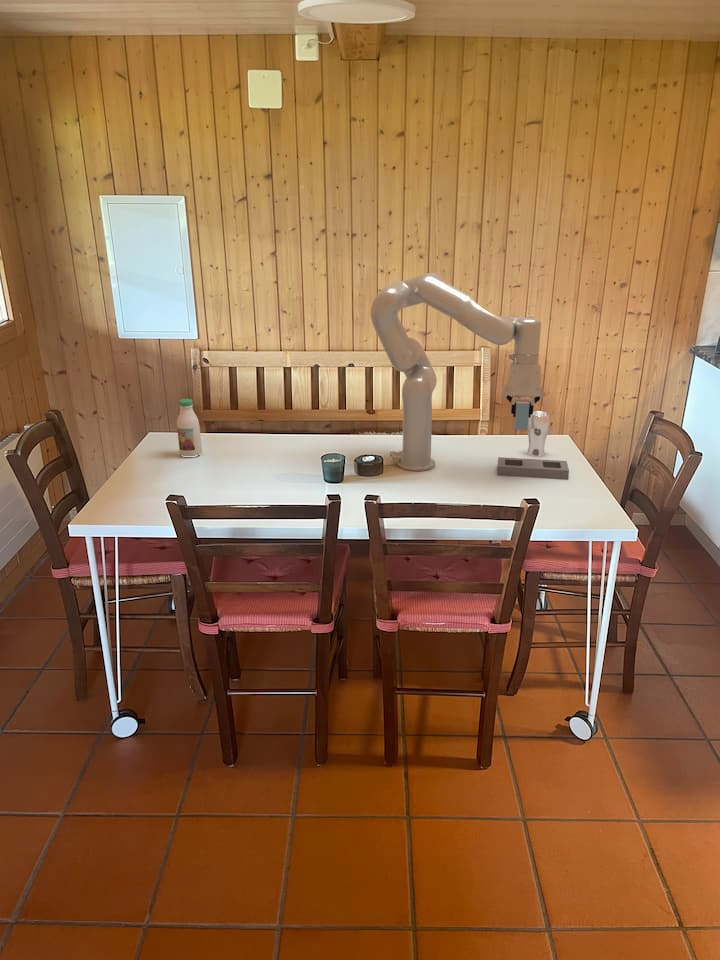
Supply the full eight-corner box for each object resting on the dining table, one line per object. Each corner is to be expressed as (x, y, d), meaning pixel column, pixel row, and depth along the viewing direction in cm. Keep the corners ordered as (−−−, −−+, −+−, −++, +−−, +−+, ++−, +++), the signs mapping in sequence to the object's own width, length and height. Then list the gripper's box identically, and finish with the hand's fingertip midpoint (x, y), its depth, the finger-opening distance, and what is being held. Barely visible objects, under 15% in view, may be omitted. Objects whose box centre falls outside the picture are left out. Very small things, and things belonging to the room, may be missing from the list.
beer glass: (548, 453, 244) (552, 412, 239) (542, 459, 239) (546, 417, 233) (529, 450, 248) (533, 409, 242) (522, 455, 242) (526, 414, 237)
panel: (497, 476, 224) (498, 466, 223) (497, 467, 233) (498, 457, 231) (567, 480, 220) (568, 470, 219) (565, 470, 229) (566, 460, 227)
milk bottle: (192, 449, 252) (186, 396, 244) (206, 453, 248) (201, 399, 240) (175, 455, 246) (169, 400, 239) (190, 459, 242) (184, 404, 234)
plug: (514, 429, 220) (516, 401, 217) (514, 425, 224) (516, 398, 220) (527, 429, 219) (529, 402, 216) (527, 426, 223) (529, 398, 220)
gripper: (498, 360, 212) (494, 418, 218) (554, 362, 208) (549, 420, 215) (498, 355, 218) (495, 412, 225) (553, 357, 215) (548, 414, 222)
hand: (521, 415), depth 220 cm, fingers closed on plug, 4 cm apart
